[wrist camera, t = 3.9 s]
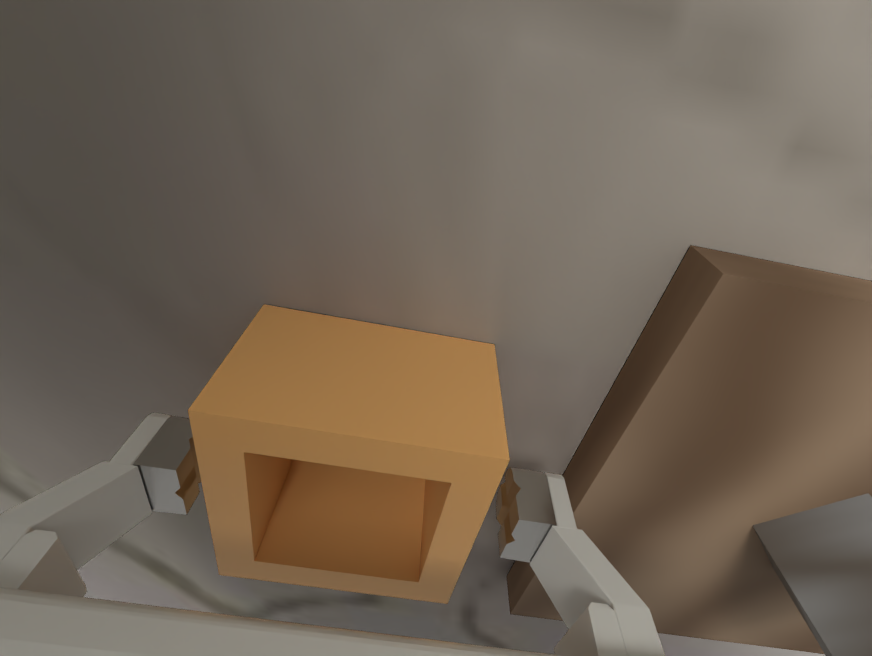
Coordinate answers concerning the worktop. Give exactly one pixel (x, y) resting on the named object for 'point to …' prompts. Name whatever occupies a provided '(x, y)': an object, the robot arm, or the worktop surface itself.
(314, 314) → the orange square tube
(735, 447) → the base plate
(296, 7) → the worktop surface
